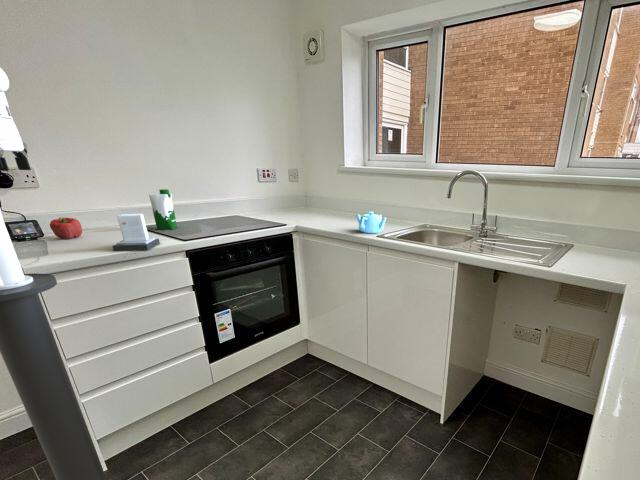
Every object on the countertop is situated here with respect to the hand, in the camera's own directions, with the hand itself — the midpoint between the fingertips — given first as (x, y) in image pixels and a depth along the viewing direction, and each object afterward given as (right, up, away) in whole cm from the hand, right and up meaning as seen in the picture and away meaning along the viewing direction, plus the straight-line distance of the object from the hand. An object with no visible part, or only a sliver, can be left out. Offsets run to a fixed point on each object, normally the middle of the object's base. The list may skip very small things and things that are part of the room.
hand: (14, 170), depth 116 cm
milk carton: (+4, -5, +71) cm, 71 cm away
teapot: (+112, -4, +84) cm, 140 cm away
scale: (+17, -21, +32) cm, 42 cm away
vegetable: (-22, -15, +42) cm, 50 cm away
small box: (+17, -18, +31) cm, 40 cm away
